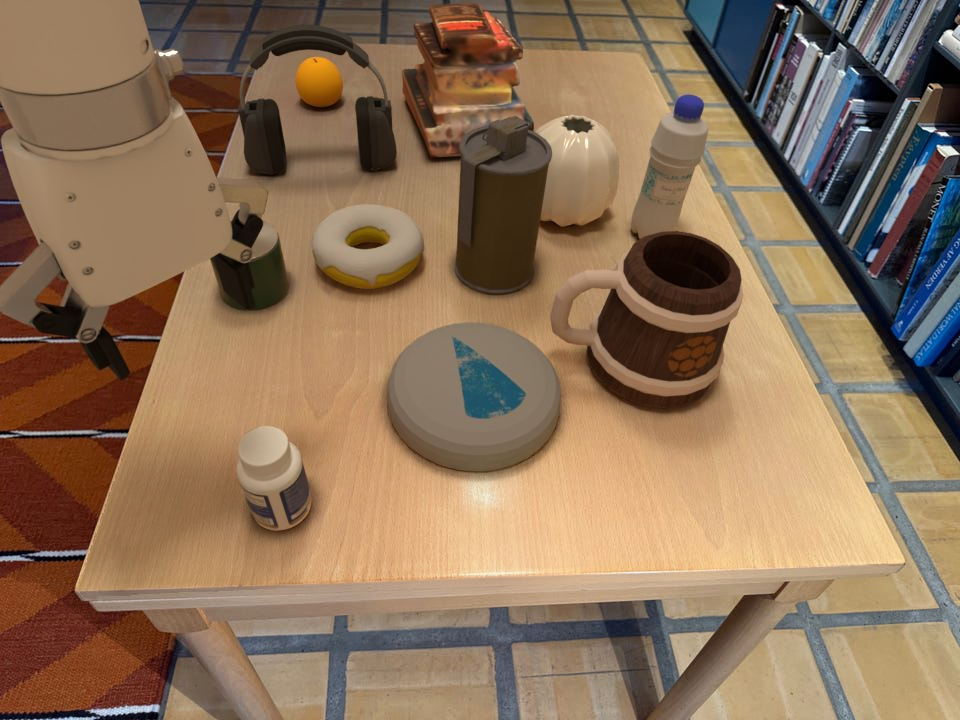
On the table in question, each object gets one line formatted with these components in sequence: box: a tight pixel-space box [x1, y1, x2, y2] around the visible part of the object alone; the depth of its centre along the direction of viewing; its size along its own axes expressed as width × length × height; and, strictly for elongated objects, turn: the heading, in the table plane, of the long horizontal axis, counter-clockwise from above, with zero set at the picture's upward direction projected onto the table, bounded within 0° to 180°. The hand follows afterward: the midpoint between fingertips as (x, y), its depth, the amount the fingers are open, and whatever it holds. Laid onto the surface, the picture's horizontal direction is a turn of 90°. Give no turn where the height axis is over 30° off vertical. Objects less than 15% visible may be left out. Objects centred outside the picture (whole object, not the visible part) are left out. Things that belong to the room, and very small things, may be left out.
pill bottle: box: [235, 425, 313, 532], centre depth 56 cm, size 5×5×10 cm
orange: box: [294, 56, 344, 108], centre depth 110 cm, size 8×8×8 cm
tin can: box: [209, 220, 290, 311], centre depth 77 cm, size 8×8×8 cm
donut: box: [311, 203, 425, 290], centre depth 82 cm, size 14×14×5 cm
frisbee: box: [386, 321, 562, 472], centre depth 68 cm, size 18×18×5 cm
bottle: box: [630, 93, 709, 240], centre depth 85 cm, size 7×7×20 cm
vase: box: [535, 114, 620, 228], centre depth 90 cm, size 14×14×13 cm
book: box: [401, 2, 535, 159], centre depth 104 cm, size 23×18×17 cm
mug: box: [549, 230, 744, 409], centre depth 69 cm, size 20×15×15 cm
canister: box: [453, 116, 552, 295], centre depth 77 cm, size 11×10×20 cm
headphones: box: [237, 23, 398, 176], centre depth 92 cm, size 22×6×20 cm, turn 100°
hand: (181, 331), depth 46 cm, fingers open, 9 cm apart
